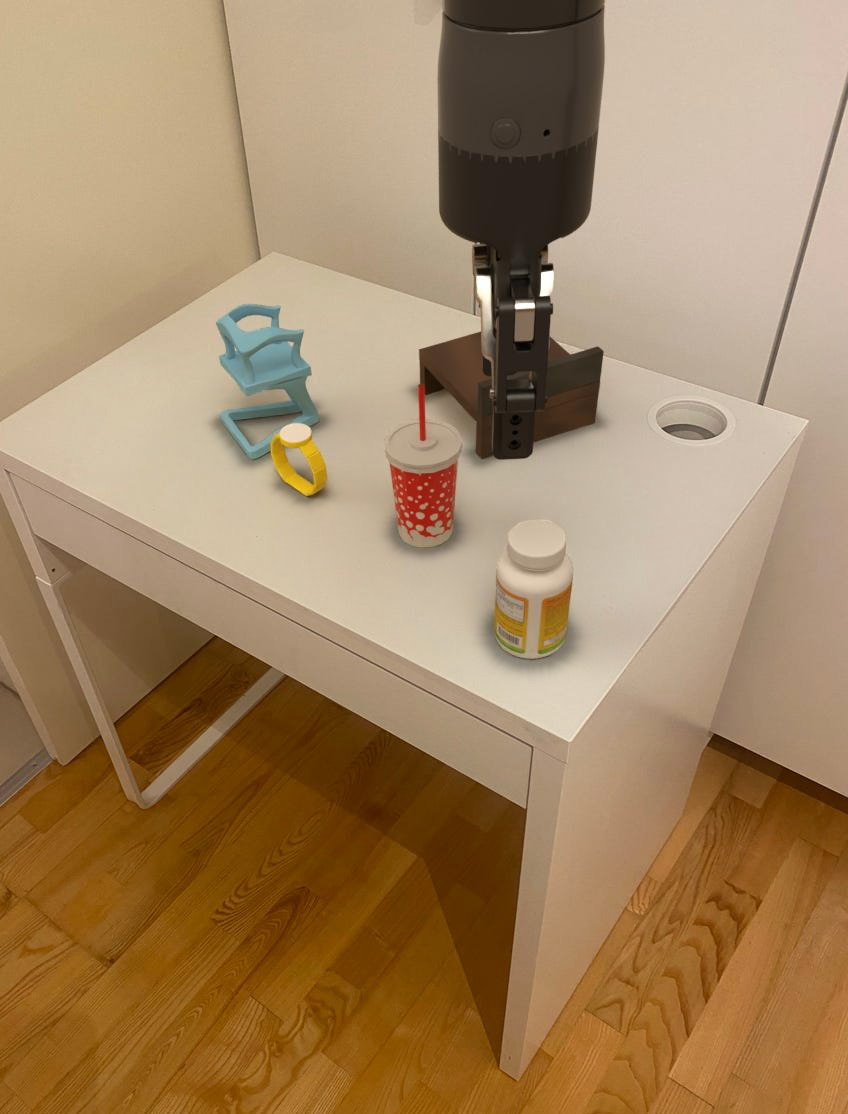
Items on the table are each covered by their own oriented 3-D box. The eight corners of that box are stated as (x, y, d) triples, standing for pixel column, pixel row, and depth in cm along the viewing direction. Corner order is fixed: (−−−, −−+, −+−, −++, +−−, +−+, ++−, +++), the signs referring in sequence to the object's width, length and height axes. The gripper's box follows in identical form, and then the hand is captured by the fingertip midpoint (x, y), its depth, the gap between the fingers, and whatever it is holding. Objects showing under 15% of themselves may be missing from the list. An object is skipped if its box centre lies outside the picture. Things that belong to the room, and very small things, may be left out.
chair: (330, 433, 94) (318, 316, 85) (250, 461, 92) (229, 344, 83) (297, 394, 99) (282, 281, 90) (220, 420, 97) (197, 306, 88)
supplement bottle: (564, 610, 76) (575, 511, 69) (567, 662, 72) (579, 564, 65) (493, 608, 77) (497, 511, 70) (493, 660, 73) (497, 562, 66)
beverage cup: (457, 556, 81) (458, 410, 71) (384, 551, 82) (373, 407, 72) (465, 508, 85) (466, 364, 75) (395, 504, 86) (386, 361, 76)
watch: (268, 480, 90) (258, 425, 85) (291, 466, 91) (282, 411, 86) (313, 508, 86) (305, 452, 82) (336, 493, 88) (329, 437, 83)
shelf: (526, 357, 101) (530, 288, 95) (595, 422, 92) (604, 350, 87) (419, 389, 98) (417, 320, 93) (481, 459, 90) (483, 387, 84)
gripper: (623, 174, 41) (586, 484, 53) (578, 62, 51) (555, 345, 63) (443, 185, 42) (446, 490, 53) (433, 72, 51) (437, 351, 63)
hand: (505, 411), depth 58 cm, fingers open, 8 cm apart
